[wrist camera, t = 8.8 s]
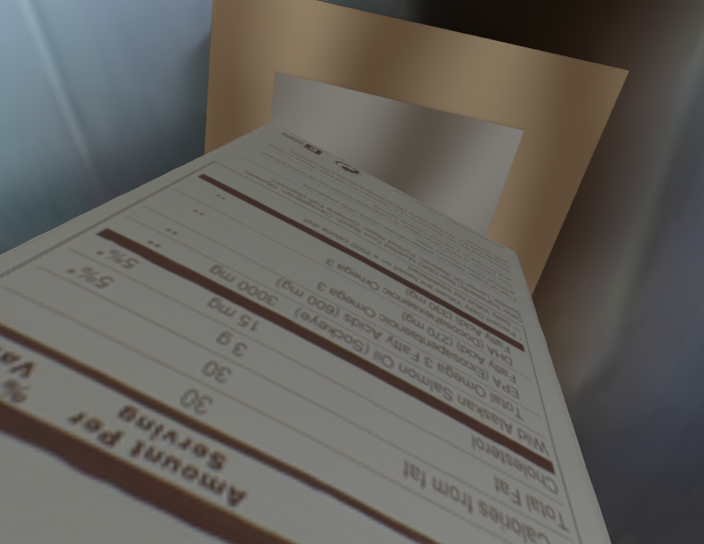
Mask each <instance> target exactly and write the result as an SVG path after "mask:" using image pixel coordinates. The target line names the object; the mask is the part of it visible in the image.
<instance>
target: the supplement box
mask: <svg viewBox="0 0 704 544" xmlns="http://www.w3.org/2000/svg"><path fill="white" fill-rule="evenodd" d="M0 544H611V541H610V538H609V535H608V532H607V529H606V526H605V523H604V520H603V516H602V513H601V510H600V507H599V504H598V501H597V498H596V495H595V492H594V489H593V487H592V484H591V481H590V478H589V475H588V472H587V469H586V466H585V463H584V460H583V456H582V453H581V450H580V447H579V444H578V441H577V438H576V434H575V431H574V428H573V425H572V422H571V419H570V416H569V413H568V409H567V406H566V403H565V400H564V397H563V394H562V391H561V388H560V385H559V382H558V379H557V376H556V373H555V370H554V367H553V364H552V360H551V357H550V354H549V351H548V347H547V343H546V340H545V338H544V335H543V332H542V329H541V327H540V324H539V320H538V317H537V314H536V311H535V307H534V304H533V301H532V298H531V295H530V292H529V289H528V286H527V283H526V280H525V277H524V274H523V271H522V268H521V265H520V262H519V259H518V257H517V254H516V253H515V252H514V251H513V250H511V249H509V248H507V247H505V246H503V245H501V244H499V243H497V242H495V241H493V240H491V239H489V238H487V237H486V236H484V235H482V234H480V233H478V232H477V231H475V230H473V229H471V228H469V227H467V226H466V225H464V224H462V223H460V222H458V221H456V220H454V219H452V218H450V217H449V216H447V215H445V214H443V213H441V212H439V211H437V210H435V209H433V208H432V207H430V206H428V205H426V204H424V203H422V202H421V201H419V200H416V199H415V198H413V197H411V196H410V195H408V194H406V193H404V192H402V191H400V190H398V189H396V188H395V187H393V186H391V185H389V184H387V183H385V182H384V181H382V180H380V179H378V178H376V177H374V176H372V175H370V174H368V173H367V172H365V171H363V170H361V169H359V168H358V167H356V166H354V165H352V164H350V163H348V162H346V161H345V160H343V159H341V158H339V157H337V156H335V155H333V154H331V153H329V152H328V151H326V150H324V149H322V148H320V147H318V146H316V145H314V144H312V143H310V142H308V141H306V140H305V139H303V138H301V137H299V136H298V135H296V134H294V133H292V132H290V131H288V130H286V129H284V128H282V127H280V126H278V125H276V124H274V123H269V124H266V125H264V126H262V127H260V128H258V129H256V130H254V131H252V132H250V133H248V134H246V135H244V136H242V137H239V138H237V139H235V140H233V141H231V142H230V143H228V144H226V145H224V146H222V147H220V148H218V149H216V150H213V151H211V152H209V153H207V154H205V155H204V156H201V157H199V158H197V159H195V160H193V161H191V162H189V163H187V164H185V165H183V166H181V167H178V168H176V169H174V170H172V171H170V172H168V173H166V174H164V175H162V176H160V177H158V178H156V179H154V180H152V181H150V182H148V183H146V184H144V185H142V186H140V187H138V188H136V189H134V190H132V191H130V192H127V193H125V194H123V195H121V196H118V197H116V198H114V199H112V200H110V201H109V202H107V203H105V204H103V205H101V206H99V207H96V208H94V209H92V210H90V211H88V212H86V213H84V214H82V215H80V216H78V217H76V218H73V219H72V220H70V221H68V222H66V223H64V224H62V225H60V226H58V227H56V228H54V229H52V230H50V231H47V232H45V233H43V234H41V235H38V236H36V237H34V238H33V239H31V240H29V241H27V242H25V243H23V244H21V245H19V246H17V247H15V248H13V249H11V250H9V251H7V252H5V253H3V254H1V255H0Z"/></svg>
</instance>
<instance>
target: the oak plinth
mask: <svg viewBox="0 0 704 544" xmlns="http://www.w3.org/2000/svg"><path fill="white" fill-rule="evenodd" d="M628 72H629V71H628V70H624V69H619V68H615V67H610V66H606V65H602V64H597V63H593V62H588V61H584V60H579V59H575V58H570V57H566V56H562V55H557V54H553V53H548V52H544V51H539V50H535V49H530V48H526V47H522V46H517V45H513V44H508V43H504V42H499V41H495V40H490V39H486V38H482V37H477V36H473V35H468V34H464V33H459V32H455V31H450V30H446V29H442V28H437V27H433V26H428V25H424V24H419V23H415V22H410V21H406V20H402V19H397V18H393V17H388V16H384V15H379V14H375V13H370V12H366V11H362V10H357V9H353V8H348V7H344V6H339V5H335V4H330V3H326V2H322V1H317V0H213V7H212V24H211V42H210V60H209V78H208V96H207V114H206V132H205V150H204V155H205V154H207V153H209V152H211V151H213V150H216V149H218V148H220V147H222V146H224V145H226V144H228V143H230V142H231V141H233V140H235V139H237V138H239V137H242V136H244V135H246V134H248V133H250V132H252V131H254V130H256V129H258V128H260V127H262V126H264V125H266V124H269V123H274V124H276V125H278V126H280V127H282V128H284V129H286V130H288V131H290V132H292V133H294V134H296V135H298V136H299V137H301V138H303V139H305V140H306V141H308V142H310V143H312V144H314V145H316V146H318V147H320V148H322V149H324V150H326V151H328V152H329V153H331V154H333V155H335V156H337V157H339V158H341V159H343V160H345V161H346V162H348V163H350V164H352V165H354V166H356V167H358V168H359V169H361V170H363V171H365V172H367V173H368V174H370V175H372V176H374V177H376V178H378V179H380V180H382V181H384V182H385V183H387V184H389V185H391V186H393V187H395V188H396V189H398V190H400V191H402V192H404V193H406V194H408V195H410V196H411V197H413V198H415V199H416V200H419V201H421V202H422V203H424V204H426V205H428V206H430V207H432V208H433V209H435V210H437V211H439V212H441V213H443V214H445V215H447V216H449V217H450V218H452V219H454V220H456V221H458V222H460V223H462V224H464V225H466V226H467V227H469V228H471V229H473V230H475V231H477V232H478V233H480V234H482V235H484V236H486V237H487V238H489V239H491V240H493V241H495V242H497V243H499V244H501V245H503V246H505V247H507V248H509V249H511V250H513V251H514V252H515V253H516V254H517V257H518V259H519V262H520V265H521V268H522V271H523V274H524V277H525V280H526V283H527V286H528V289H529V292H530V295H531V296H532V294H533V291H534V289H535V287H536V285H537V282H538V280H539V278H540V275H541V273H542V271H543V268H544V266H545V264H546V261H547V259H548V257H549V255H550V252H551V250H552V248H553V245H554V243H555V241H556V238H557V236H558V234H559V231H560V229H561V227H562V225H563V222H564V220H565V218H566V215H567V213H568V211H569V208H570V206H571V204H572V201H573V199H574V197H575V195H576V192H577V190H578V188H579V185H580V183H581V181H582V178H583V176H584V174H585V171H586V169H587V167H588V164H589V162H590V160H591V158H592V155H593V153H594V151H595V148H596V146H597V144H598V141H599V139H600V137H601V134H602V132H603V130H604V128H605V125H606V123H607V121H608V118H609V116H610V114H611V111H612V109H613V107H614V104H615V102H616V100H617V98H618V95H619V93H620V91H621V88H622V86H623V84H624V81H625V79H626V77H627V74H628Z"/></svg>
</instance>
